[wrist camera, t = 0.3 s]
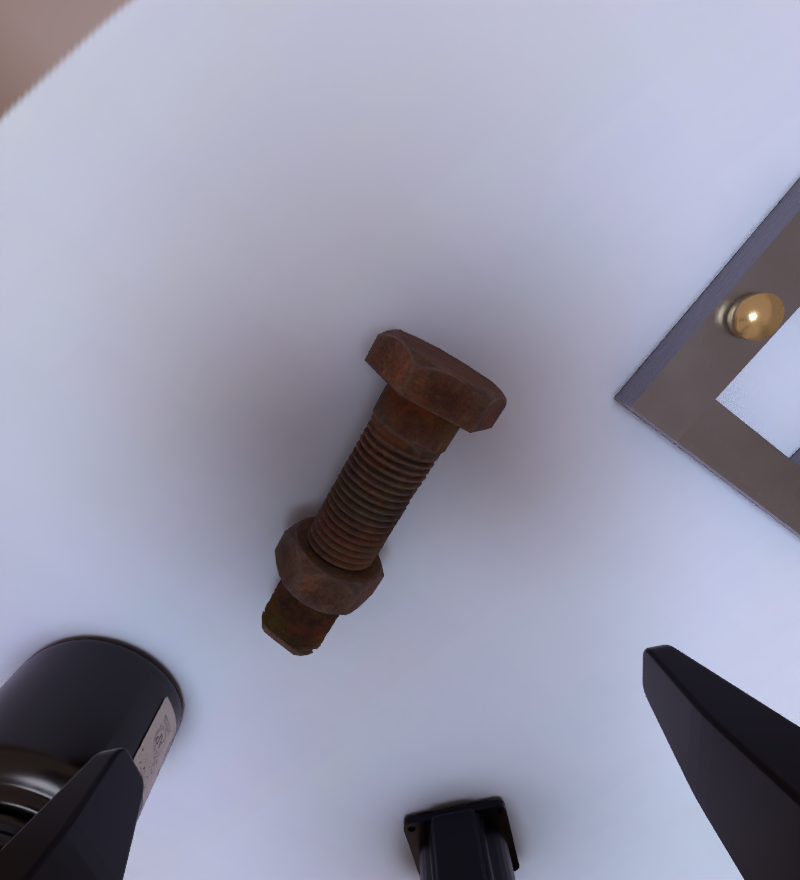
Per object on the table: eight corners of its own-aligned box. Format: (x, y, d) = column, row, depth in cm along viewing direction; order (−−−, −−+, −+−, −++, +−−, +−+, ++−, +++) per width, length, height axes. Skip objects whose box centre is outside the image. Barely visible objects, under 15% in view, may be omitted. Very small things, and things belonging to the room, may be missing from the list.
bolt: (291, 577, 26) (426, 337, 22) (358, 640, 25) (519, 396, 20) (208, 622, 21) (364, 319, 16) (286, 706, 19) (483, 396, 15)
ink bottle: (110, 782, 28) (-73, 1121, 17) (-21, 698, 26) (-335, 1028, 15) (223, 699, 26) (104, 1015, 15) (94, 600, 24) (-162, 888, 13)
